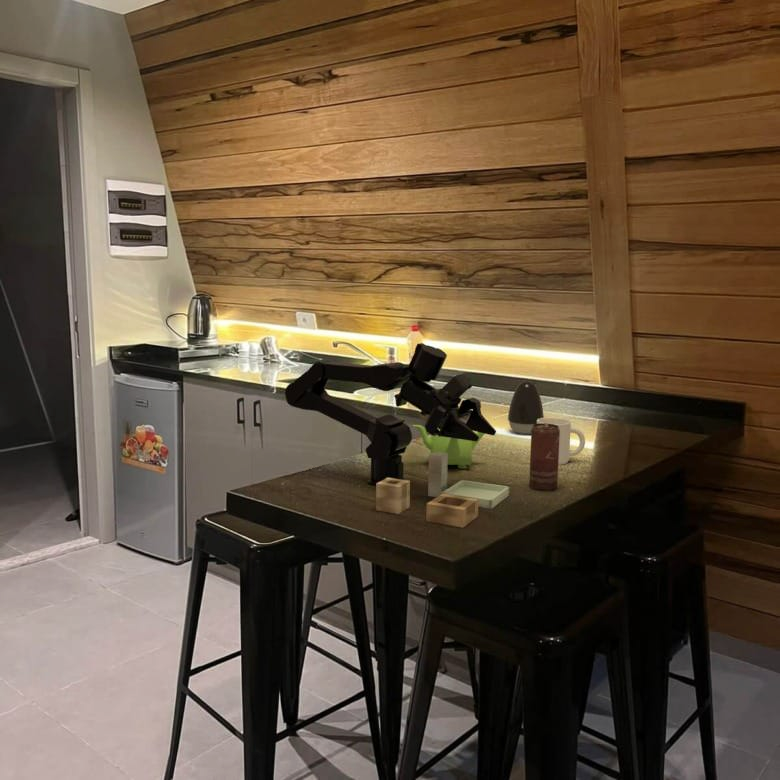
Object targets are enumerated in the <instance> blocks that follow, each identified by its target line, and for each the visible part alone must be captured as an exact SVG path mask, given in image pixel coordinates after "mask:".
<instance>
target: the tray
mask: <svg viewBox="0 0 780 780" xmlns="http://www.w3.org/2000/svg"><path fill="white" fill-rule="evenodd" d="M510 491H511V487H510V486H506V485H498V484H492V483H486V482H480V481H473V480H466V479H461V480H460V481H458V482H456V483H454V484H453V485H451V486H450V487H449V488H448V487H447V490H445V491H443V492H442V494H448V495H455V496H461V497H467V498H474V499H478V508H482V509H488V510H492V509H493V508H495V507H496V506H497V505H498V504H500V503H501V502H502V501H504V500H505V499H506V498H507V497H509V496H510V494H511V493H510Z"/></svg>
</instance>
